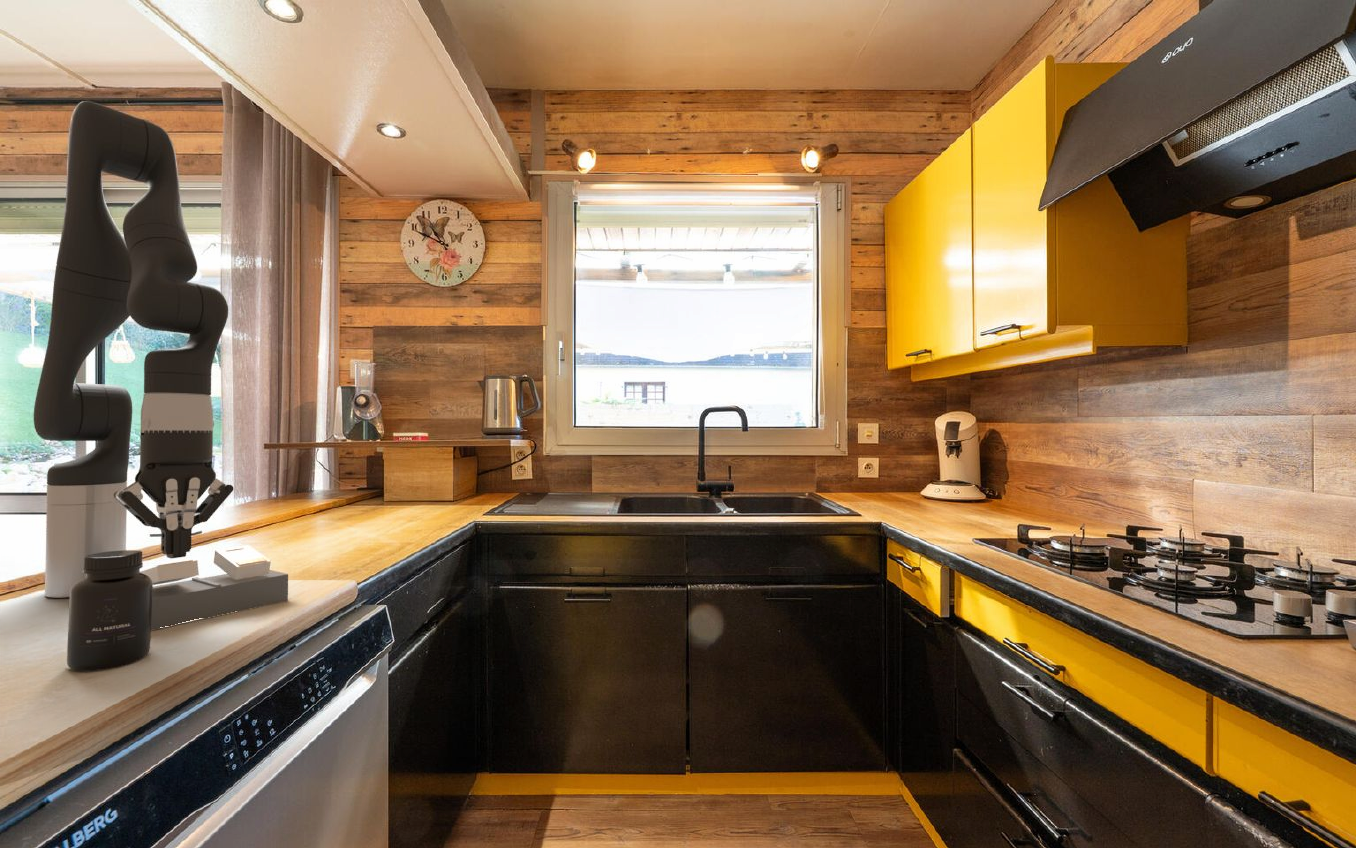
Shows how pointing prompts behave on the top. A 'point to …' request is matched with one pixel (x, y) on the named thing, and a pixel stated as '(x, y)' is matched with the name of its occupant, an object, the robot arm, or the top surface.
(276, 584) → the switch panel
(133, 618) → the supplement bottle
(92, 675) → the top surface
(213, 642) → the top surface
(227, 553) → the rocker
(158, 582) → the block
